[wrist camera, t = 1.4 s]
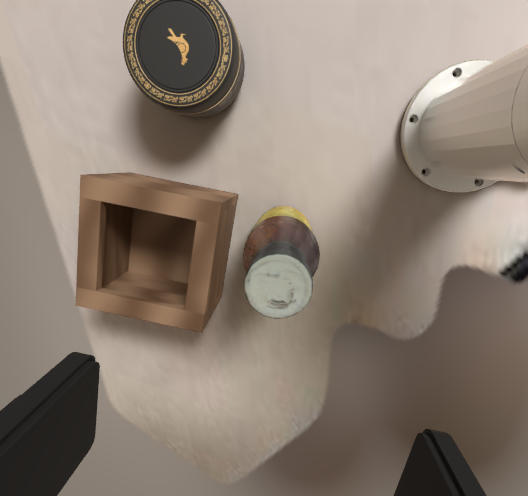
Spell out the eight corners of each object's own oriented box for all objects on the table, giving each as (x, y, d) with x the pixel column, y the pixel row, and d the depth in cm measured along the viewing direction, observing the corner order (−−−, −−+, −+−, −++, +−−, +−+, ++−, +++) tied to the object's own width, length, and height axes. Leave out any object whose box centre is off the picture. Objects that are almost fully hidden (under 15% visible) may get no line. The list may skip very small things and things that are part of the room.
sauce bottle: (292, 265, 39) (290, 363, 20) (247, 239, 39) (201, 312, 19) (322, 219, 37) (353, 278, 18) (275, 191, 37) (256, 220, 18)
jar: (192, -6, 33) (163, -55, 25) (267, 63, 34) (260, 35, 26) (138, 78, 35) (97, 56, 28) (209, 141, 36) (188, 135, 29)
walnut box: (238, 194, 37) (221, 203, 29) (221, 296, 41) (201, 332, 32) (129, 172, 38) (80, 174, 29) (121, 275, 41) (75, 305, 32)
